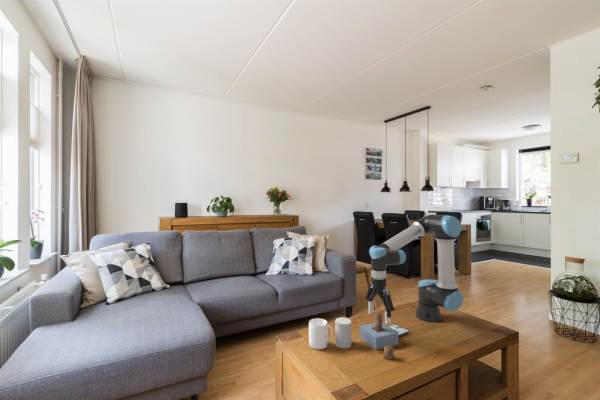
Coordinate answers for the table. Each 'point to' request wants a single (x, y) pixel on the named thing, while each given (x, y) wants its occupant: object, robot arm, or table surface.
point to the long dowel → (378, 322)
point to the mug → (319, 333)
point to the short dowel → (388, 352)
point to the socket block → (379, 336)
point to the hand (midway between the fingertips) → (379, 318)
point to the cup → (343, 332)
